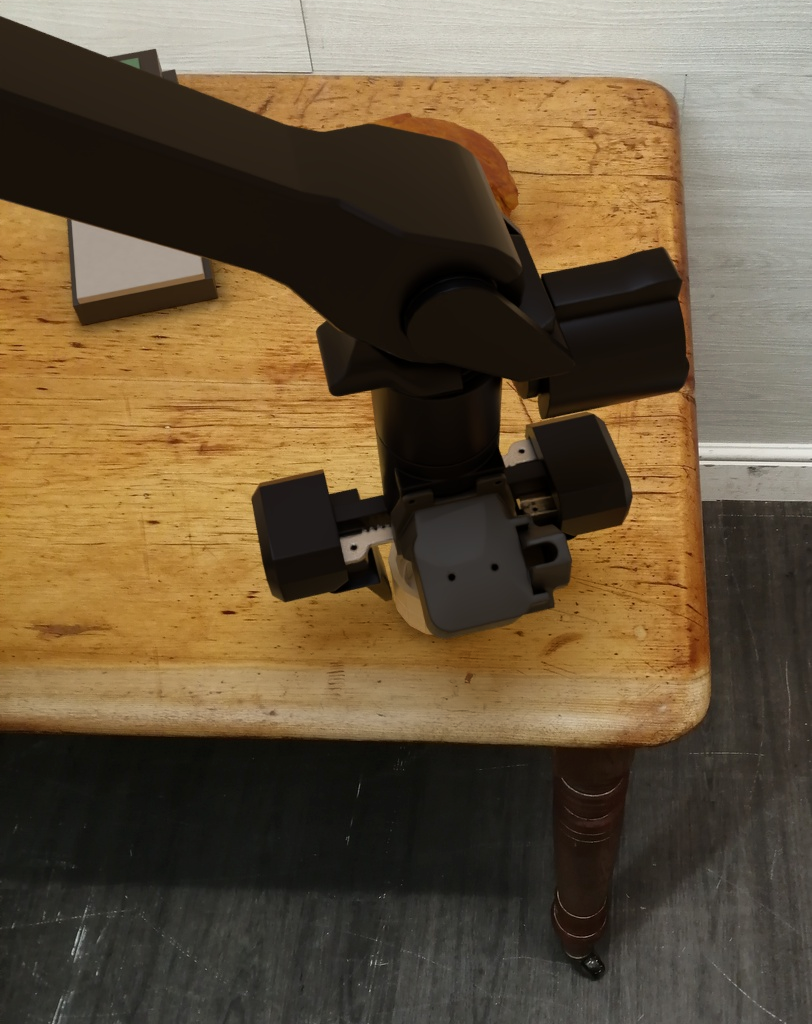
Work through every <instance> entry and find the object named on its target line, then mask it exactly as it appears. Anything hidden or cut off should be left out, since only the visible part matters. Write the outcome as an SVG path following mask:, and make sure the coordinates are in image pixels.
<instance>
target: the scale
mask: <svg viewBox="0 0 812 1024" xmlns="http://www.w3.org/2000/svg"><path fill="white" fill-rule="evenodd" d="M109 57H110V58H112V59H115V60H118V61H120V62H123V63H125V64H128V65H131V66H133V67H136V68H139V69H141V70H144V71H146V72H149V73H152V74H154V75H157V76H160V77H162V78H165V79H167V80H170V81H173V82H175V83H178V84H180V82H179V78H178V75H177V71H176V69H175V68H174V69H169V70H163V69H162V65H161V62H160V58H159V54H158V51H157V49H156V48H151V49H145V50H140V51H134V52H129V53H123V54H117V55H113V56H109ZM66 224H67V225H66V226H67V240H68V255H69V270H70V284H71V285H70V286H71V300H72V308H73V309H74V312H75V314H76V316H77V318H78V320H79V322H80V324H81V326H85V325H90V324H95V323H99V322H105V321H110V320H116V319H119V318H125V317H129V316H135V315H140V314H145V313H150V312H154V311H160V310H164V309H169V308H174V307H175V308H176V307H179V306H185V305H190V304H194V303H199V302H203V301H204V302H205V301H209V300H214V299H218V298H219V295H218V289H217V284H216V279H215V274H214V267H213V260H210V259H206V258H203V257H199V256H196V255H192V254H189V253H185V252H182V251H178V250H175V249H171V248H168V247H164V246H161V245H157V244H154V243H150V242H147V241H143V240H140V239H136V238H133V237H129V236H126V235H122V234H119V233H115V232H112V231H108V230H105V229H101V228H98V227H94V226H91V225H87V224H84V223H80V222H77V221H73V220H70V219H66Z"/></svg>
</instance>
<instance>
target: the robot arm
mask: <svg viewBox="0 0 812 1024" xmlns="http://www.w3.org/2000/svg"><path fill="white" fill-rule="evenodd" d="M110 57H111V56H107V55H104V54H101V53H99V52H96V51H94V50H91V49H88V48H86V47H83V46H80V45H78V44H76V43H73V42H71V41H69V40H68V41H67V40H65V39H62V38H60V37H57V36H55V35H52V34H49V33H46V32H44V31H41V30H38V29H37V28H33V27H30V26H28V25H26V24H23V23H20V22H17V21H15V20H13V19H9V18H7V17H5V16H2V15H0V201H3V202H8V203H11V204H14V205H18V206H21V207H24V208H29V209H32V210H35V211H38V212H43V213H46V214H50V215H53V216H56V217H60V218H64V219H65V220H67V219H70V220H73V221H77V222H80V223H84V224H87V225H91V226H94V227H98V228H101V229H105V230H108V231H112V232H115V233H119V234H122V235H126V236H129V237H133V238H136V239H140V240H143V241H147V242H150V243H154V244H157V245H161V246H164V247H168V248H171V249H175V250H178V251H182V252H185V253H189V254H192V255H196V256H199V257H203V258H206V259H210V260H211V261H212V262H213V261H214V262H217V263H220V264H224V265H228V266H230V267H234V268H238V269H242V270H245V271H248V272H253V273H254V274H258V275H259V276H263V277H265V278H267V279H269V280H271V281H272V282H276V283H278V284H280V285H281V286H284V287H286V289H289V290H290V291H291V292H292V293H294V294H295V295H296V296H297V297H298V298H299V299H301V300H302V301H303V302H304V303H305V304H306V305H308V306H309V307H310V309H312V310H313V311H315V312H316V313H317V314H318V315H319V316H320V317H321V318H323V320H325V321H324V322H322V323H321V324H320V325H319V326H318V327H317V328H316V330H315V336H316V340H317V344H318V350H319V353H320V354H319V355H320V359H321V363H322V367H323V372H324V376H325V381H326V384H327V388H328V392H329V394H330V395H331V396H333V397H336V398H339V397H340V398H341V397H346V396H349V395H356V394H360V393H365V392H370V396H371V404H372V412H373V420H374V421H373V422H374V430H375V439H376V447H377V454H378V463H379V470H380V479H381V488H382V494H380V495H374V496H371V497H367V498H361V494H360V492H359V490H358V488H357V487H354V488H350V489H346V490H342V491H336V492H332V493H330V491H329V487H328V483H327V479H326V475H325V474H326V473H325V470H324V469H323V468H321V469H316V470H312V471H308V472H304V473H303V472H302V473H299V474H293V475H289V476H286V477H281V478H276V479H272V480H267V481H262V482H259V484H258V485H257V487H256V488H255V490H254V492H253V493H252V495H251V498H250V499H251V500H250V501H251V506H252V512H253V516H254V523H255V527H256V528H255V529H256V533H257V538H258V545H259V550H260V556H261V562H262V567H263V570H264V574H265V575H264V576H265V579H266V582H267V585H268V588H269V592H270V594H271V596H272V597H274V598H276V599H277V600H280V601H281V602H283V603H289V602H293V601H298V600H302V599H306V598H311V597H315V596H319V595H320V596H321V595H324V594H328V593H329V594H333V595H336V594H341V593H346V592H350V591H356V590H359V589H364V588H367V589H368V590H369V591H370V592H372V593H374V594H375V595H377V596H378V597H379V598H380V599H382V600H383V601H385V602H389V601H392V600H393V592H392V586H391V584H390V583H391V582H390V580H389V575H388V572H387V569H386V564H385V561H384V559H383V557H382V554H381V550H380V548H379V547H380V546H382V545H387V544H392V542H394V543H395V547H396V551H397V555H398V556H399V555H402V556H403V558H404V559H405V560H407V561H410V562H411V564H412V569H413V573H414V577H415V582H416V586H417V590H418V594H419V598H420V602H421V606H422V611H423V616H424V620H425V624H426V627H427V628H428V630H429V631H430V632H431V633H432V634H433V635H432V636H433V637H436V638H437V639H441V640H451V639H454V638H459V637H462V636H463V637H464V636H466V635H471V634H475V633H480V632H484V631H488V630H492V629H497V628H501V627H502V628H503V627H506V626H510V625H512V624H514V623H516V622H517V621H518V620H520V619H521V618H523V616H526V615H531V614H535V613H539V612H543V611H548V610H551V609H552V610H553V609H555V607H556V605H555V604H556V603H555V598H554V591H559V590H562V589H565V588H566V587H568V586H569V584H570V583H571V582H570V581H571V578H572V577H571V576H572V565H573V564H572V563H573V557H572V555H571V551H570V547H569V544H568V541H572V540H574V539H575V538H577V537H578V536H582V535H585V534H590V533H594V532H598V531H602V530H607V529H611V528H616V527H620V526H623V524H624V522H625V521H626V520H627V517H628V516H629V513H630V510H631V505H632V501H633V498H634V496H633V488H632V482H631V479H630V477H629V475H628V472H627V470H626V467H625V466H624V463H623V461H622V459H621V456H620V454H619V452H618V449H617V447H616V445H615V442H614V440H613V438H612V436H611V433H610V432H609V428H608V426H607V424H606V422H605V421H604V420H603V419H602V418H601V417H599V416H598V415H596V414H595V413H592V412H589V411H593V410H596V409H597V410H598V409H602V408H606V407H611V406H616V405H621V404H625V403H629V402H635V401H639V400H645V399H648V398H649V399H650V398H654V397H659V396H664V395H669V394H673V393H678V392H680V391H681V390H682V389H683V388H684V386H685V384H686V382H687V380H688V377H689V372H690V370H691V369H690V366H691V365H690V361H689V359H688V357H687V337H686V336H687V335H686V334H687V333H686V329H685V321H684V317H683V316H684V315H683V311H682V307H681V303H680V300H679V297H680V294H681V289H682V286H683V282H684V280H683V278H682V276H681V274H680V273H679V271H678V268H677V267H676V264H675V262H674V261H673V259H672V257H671V255H670V253H669V251H668V249H666V248H665V247H664V246H660V247H653V248H649V249H644V250H639V251H636V252H632V253H630V254H627V255H625V256H622V257H619V258H615V259H611V260H605V261H601V262H600V261H599V262H595V263H591V264H586V265H580V266H574V267H569V268H564V269H560V270H553V271H549V272H544V273H541V274H539V271H538V269H537V267H536V264H535V262H534V259H533V255H532V254H531V251H530V249H529V247H528V244H527V242H526V239H525V237H524V234H523V232H522V230H521V228H520V227H518V226H517V225H516V223H514V222H513V221H512V220H511V218H510V217H509V218H508V217H507V216H506V215H505V214H503V213H502V212H501V211H500V210H499V207H498V205H497V202H496V200H495V197H494V195H493V192H492V190H491V187H490V185H489V182H488V180H487V177H486V175H485V173H484V171H483V169H482V167H481V164H480V162H479V161H478V160H477V159H476V157H475V156H474V155H473V154H472V153H471V152H470V151H469V150H467V149H466V148H464V147H463V146H461V145H460V144H458V143H456V142H453V141H450V140H447V139H443V138H439V137H434V136H429V135H424V134H420V133H415V132H410V131H406V130H401V129H396V128H391V127H387V126H382V125H377V124H365V123H362V124H363V125H362V124H357V125H353V126H348V127H342V128H336V129H330V130H325V131H320V130H319V131H318V130H314V129H309V128H304V127H299V126H295V125H289V124H286V123H284V122H280V121H278V120H275V119H273V118H270V117H267V116H266V115H265V116H264V115H261V114H259V113H257V112H255V111H251V110H249V109H246V108H243V107H241V106H239V105H235V104H233V103H230V102H229V101H225V100H222V99H220V98H218V97H215V96H212V95H209V94H207V93H204V92H201V91H199V90H196V89H193V88H191V87H188V86H186V85H184V84H180V83H179V84H178V83H175V82H173V81H170V80H167V79H165V78H162V77H160V76H157V75H154V74H152V73H149V72H146V71H144V70H141V69H139V68H136V67H133V66H131V65H128V64H125V63H123V62H120V61H118V60H115V59H112V58H110ZM504 379H505V380H509V381H513V385H514V387H515V391H516V392H517V394H518V395H519V398H520V399H521V400H528V399H529V400H530V399H534V398H537V407H538V413H539V417H540V419H541V420H540V421H536V422H531V423H528V424H525V429H524V430H525V431H524V438H525V439H521V440H517V441H514V442H513V443H511V444H510V446H509V448H508V450H507V453H505V454H502V452H501V450H500V438H501V422H502V421H501V418H502V400H503V399H502V398H503V397H502V395H503V380H504Z"/></svg>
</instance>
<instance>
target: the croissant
mask: <svg viewBox="0 0 812 1024" xmlns="http://www.w3.org/2000/svg"><path fill="white" fill-rule="evenodd" d="M363 124H377V125H382V126H387V127H391V128H396V129H401V130H406V131H410V132H415V133H420V134H424V135H429V136H434V137H439V138H443V139H447V140H450V141H453V142H456V143H458V144H460V145H461V146H463V147H464V148H466V149H467V150H469V151H470V152H471V153H472V154H473V155H474V156H475V157H476V159H477V160H478V161H479V162H480V164H481V167H482V169H483V171H484V173H485V175H486V177H487V180H488V182H489V185H490V187H491V190H492V192H493V195H494V197H495V200H496V202H497V205H498V207H499V210H500V211H501V212H502V213H503V214H505V215H506V216H507V217H508V218H509V219H510V215H511V213H512V211H515V209H517V207H518V206H519V204H520V203H519V202H520V201H519V189H518V186H517V184H516V180H515V179H514V177H513V175H512V174H511V173H510V170H509V167H508V161H507V160H506V158H505V156H504V155H503V154H502V153H501V151H500V150H499V149H498V148H497V147H496V146H495V144H494V143H493V141H491V140H490V139H489V138H487V137H486V136H485V135H484V134H481V133H479V132H477V131H476V130H474V129H472V128H467V127H464V126H461V125H459V124H457V123H456V122H453V121H448V120H446V119H441V118H439V119H438V118H433V117H420V116H414V115H412V113H411V112H405V113H399V114H396V115H391V116H387V117H384V118H380V119H376V120H374V121H371V122H369V121H368V122H365V123H362V124H361V125H363Z"/></svg>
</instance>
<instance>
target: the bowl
mask: <svg viewBox="0 0 812 1024" xmlns="http://www.w3.org/2000/svg"><path fill="white" fill-rule="evenodd" d="M390 544H391V545H390V549H389V553H388V554H389V555H388V559H387V560H388V569H389V575H390V583H391V584H390V585H391V591H392V598H393V601H394V605H395V608H396V610H397V612H398V613H399V615H400V616H401V617H402V618H403V620H404V621H405V622H406V624H408V625H409V626H410V627H412V628H414V629H415V630H418V631H419V632H421V633H423V634H426V635H431V636H434V635H433V634H432V633H431V632H430V631H429V630H428V628H427V627H426V624H425V620H424V616H423V611H422V606H421V602H420V598H419V594H418V590H417V586H416V582H415V577H414V573H413V569H412V564H411V562H410V561H407V560H405V559H404V558H403V556H402V555H399V556H398V555H397V551H396V547H395V543H394V542H392V543H390Z"/></svg>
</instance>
